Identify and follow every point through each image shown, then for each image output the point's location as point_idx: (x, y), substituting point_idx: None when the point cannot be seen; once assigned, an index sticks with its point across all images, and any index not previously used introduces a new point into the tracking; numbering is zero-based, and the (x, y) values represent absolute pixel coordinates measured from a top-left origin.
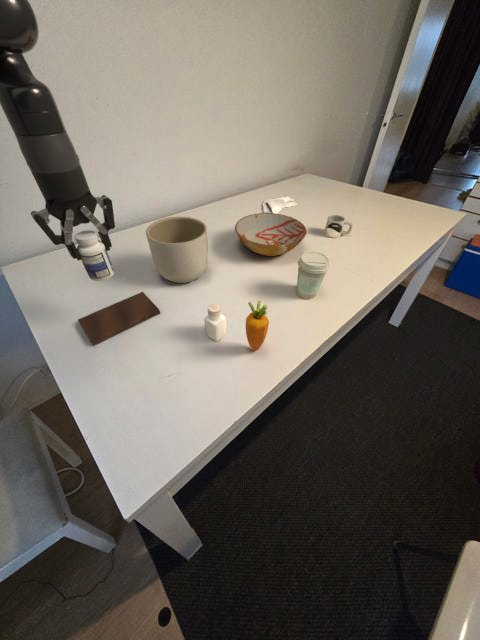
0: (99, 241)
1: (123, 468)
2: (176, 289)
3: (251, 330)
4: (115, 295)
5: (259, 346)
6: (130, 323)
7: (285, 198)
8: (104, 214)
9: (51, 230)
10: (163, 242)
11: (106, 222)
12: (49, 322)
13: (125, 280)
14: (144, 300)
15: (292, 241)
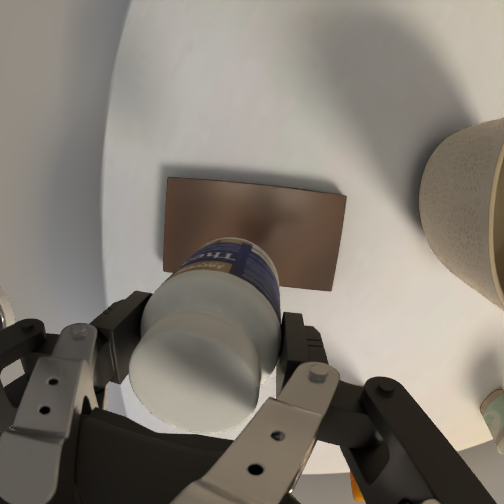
0: (262, 363)
1: None
2: (411, 239)
3: (352, 489)
4: (288, 136)
5: None
6: None
7: None
8: (389, 455)
9: (11, 422)
10: (494, 266)
11: (359, 429)
12: (128, 127)
13: (342, 97)
14: (327, 234)
15: None
